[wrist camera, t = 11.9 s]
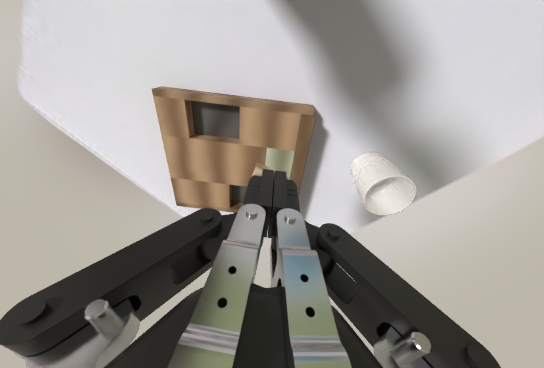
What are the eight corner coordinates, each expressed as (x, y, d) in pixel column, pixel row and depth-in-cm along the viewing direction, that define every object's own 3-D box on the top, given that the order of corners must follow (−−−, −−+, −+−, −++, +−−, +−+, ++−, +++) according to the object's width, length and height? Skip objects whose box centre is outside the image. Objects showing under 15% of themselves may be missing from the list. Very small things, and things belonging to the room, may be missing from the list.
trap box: (182, 197, 47) (172, 211, 42) (161, 86, 33) (144, 90, 29) (290, 210, 47) (291, 225, 43) (312, 105, 34) (316, 112, 29)
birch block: (248, 182, 39) (244, 197, 35) (257, 162, 37) (253, 175, 33) (271, 190, 40) (270, 206, 36) (281, 171, 38) (281, 186, 33)
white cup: (397, 159, 38) (428, 188, 30) (369, 189, 42) (390, 221, 34) (364, 142, 37) (388, 167, 28) (339, 174, 41) (352, 204, 32)
